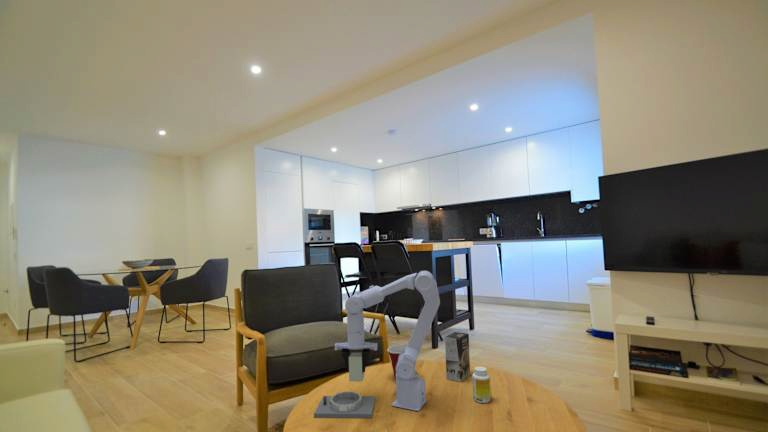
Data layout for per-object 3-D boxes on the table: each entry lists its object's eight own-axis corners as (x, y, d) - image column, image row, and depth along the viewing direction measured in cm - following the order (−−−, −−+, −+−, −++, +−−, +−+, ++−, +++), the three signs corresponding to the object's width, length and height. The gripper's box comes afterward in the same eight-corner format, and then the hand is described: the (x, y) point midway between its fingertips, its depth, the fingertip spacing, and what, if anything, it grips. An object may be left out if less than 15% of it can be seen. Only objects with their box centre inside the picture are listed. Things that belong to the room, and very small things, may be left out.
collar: (363, 397, 118) (363, 389, 118) (359, 412, 108) (359, 404, 108) (327, 397, 119) (327, 389, 119) (319, 412, 109) (319, 403, 109)
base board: (375, 399, 118) (375, 396, 118) (371, 418, 106) (371, 414, 106) (323, 399, 120) (323, 395, 120) (313, 417, 108) (313, 413, 108)
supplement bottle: (494, 401, 115) (492, 370, 115) (479, 405, 113) (478, 372, 113) (483, 394, 120) (482, 364, 120) (470, 397, 118) (468, 367, 119)
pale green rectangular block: (364, 375, 120) (363, 352, 121) (362, 381, 116) (361, 356, 116) (351, 375, 121) (351, 352, 121) (349, 381, 116) (348, 356, 117)
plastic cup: (390, 372, 142) (389, 342, 143) (416, 373, 140) (415, 343, 141) (385, 383, 132) (384, 351, 132) (413, 385, 129) (412, 352, 130)
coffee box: (461, 382, 130) (459, 338, 131) (445, 378, 134) (444, 336, 135) (471, 374, 138) (469, 333, 139) (456, 371, 141) (454, 331, 142)
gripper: (377, 327, 122) (378, 367, 122) (337, 327, 124) (338, 366, 123) (375, 333, 115) (376, 375, 115) (332, 333, 117) (333, 374, 116)
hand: (356, 371), depth 118 cm, fingers closed on pale green rectangular block, 4 cm apart
